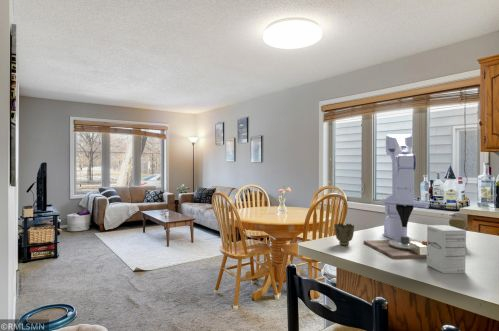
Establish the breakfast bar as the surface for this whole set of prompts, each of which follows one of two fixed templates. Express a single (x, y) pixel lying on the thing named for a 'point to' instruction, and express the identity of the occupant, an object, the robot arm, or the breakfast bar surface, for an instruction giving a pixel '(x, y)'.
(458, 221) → the cork
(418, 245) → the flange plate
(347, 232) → the cup
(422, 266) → the breakfast bar surface
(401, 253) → the board
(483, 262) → the breakfast bar surface
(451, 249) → the supplement box
